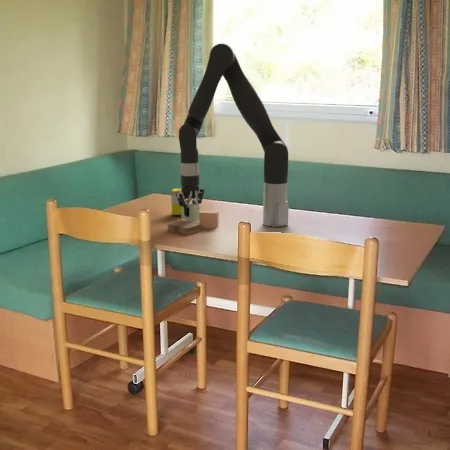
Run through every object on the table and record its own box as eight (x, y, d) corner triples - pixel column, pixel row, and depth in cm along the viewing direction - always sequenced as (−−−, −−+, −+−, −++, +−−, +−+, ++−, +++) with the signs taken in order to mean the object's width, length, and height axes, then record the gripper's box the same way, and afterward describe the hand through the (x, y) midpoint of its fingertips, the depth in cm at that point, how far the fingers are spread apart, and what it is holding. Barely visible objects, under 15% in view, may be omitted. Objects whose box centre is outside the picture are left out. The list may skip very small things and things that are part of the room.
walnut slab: (201, 231, 245) (201, 224, 245) (188, 236, 239) (188, 228, 238) (181, 227, 251) (181, 220, 250) (168, 231, 245) (167, 224, 244)
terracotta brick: (218, 225, 252) (218, 211, 251) (216, 228, 249) (216, 213, 247) (201, 225, 253) (201, 210, 252) (199, 227, 250) (199, 212, 249)
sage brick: (199, 220, 256) (199, 205, 254) (193, 221, 254) (192, 207, 252) (187, 216, 261) (187, 202, 259) (181, 218, 258) (181, 204, 257)
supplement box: (187, 213, 271) (187, 188, 269) (185, 216, 266) (185, 191, 263) (174, 213, 272) (173, 187, 269) (171, 216, 266) (171, 190, 263)
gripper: (182, 177, 245) (183, 220, 249) (209, 172, 254) (209, 214, 259) (170, 174, 250) (171, 217, 254) (196, 170, 259) (197, 211, 264)
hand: (190, 215), depth 257 cm, fingers closed on sage brick, 3 cm apart
